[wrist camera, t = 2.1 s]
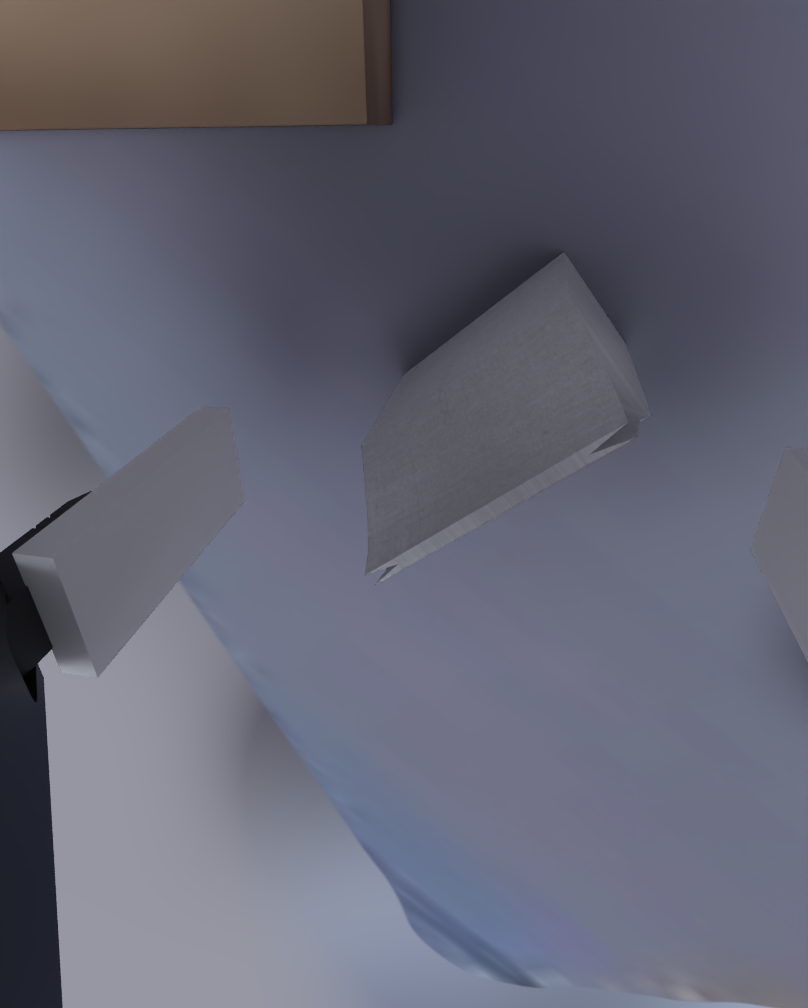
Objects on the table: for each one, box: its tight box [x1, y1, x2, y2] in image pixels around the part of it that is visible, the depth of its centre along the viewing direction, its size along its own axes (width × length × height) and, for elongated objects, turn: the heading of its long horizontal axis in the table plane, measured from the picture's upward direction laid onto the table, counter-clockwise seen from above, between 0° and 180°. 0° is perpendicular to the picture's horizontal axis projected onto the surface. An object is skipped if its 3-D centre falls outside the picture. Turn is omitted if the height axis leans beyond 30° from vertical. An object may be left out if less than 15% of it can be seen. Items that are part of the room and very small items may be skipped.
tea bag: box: [361, 252, 652, 585], centre depth 17 cm, size 4×7×10 cm, turn 130°
